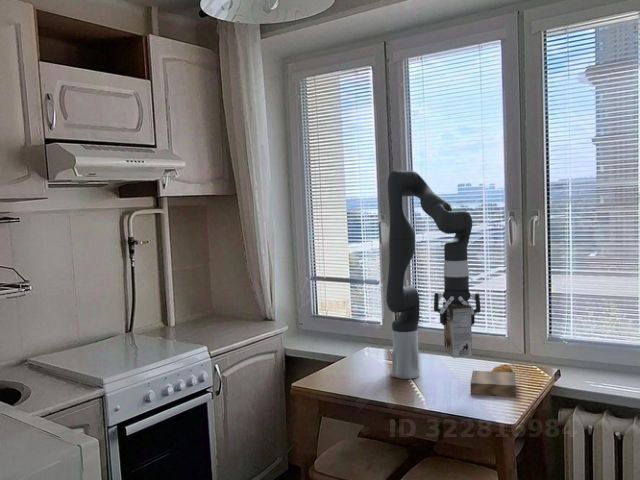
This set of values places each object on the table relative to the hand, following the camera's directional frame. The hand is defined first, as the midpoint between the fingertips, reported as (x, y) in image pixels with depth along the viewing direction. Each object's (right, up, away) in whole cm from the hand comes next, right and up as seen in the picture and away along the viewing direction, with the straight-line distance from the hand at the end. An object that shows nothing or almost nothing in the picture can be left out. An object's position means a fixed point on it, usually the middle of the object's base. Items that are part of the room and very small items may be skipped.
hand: (457, 325), depth 176 cm
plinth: (+15, -23, +11) cm, 29 cm away
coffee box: (0, -9, +1) cm, 9 cm away
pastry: (+22, -22, +24) cm, 40 cm away
